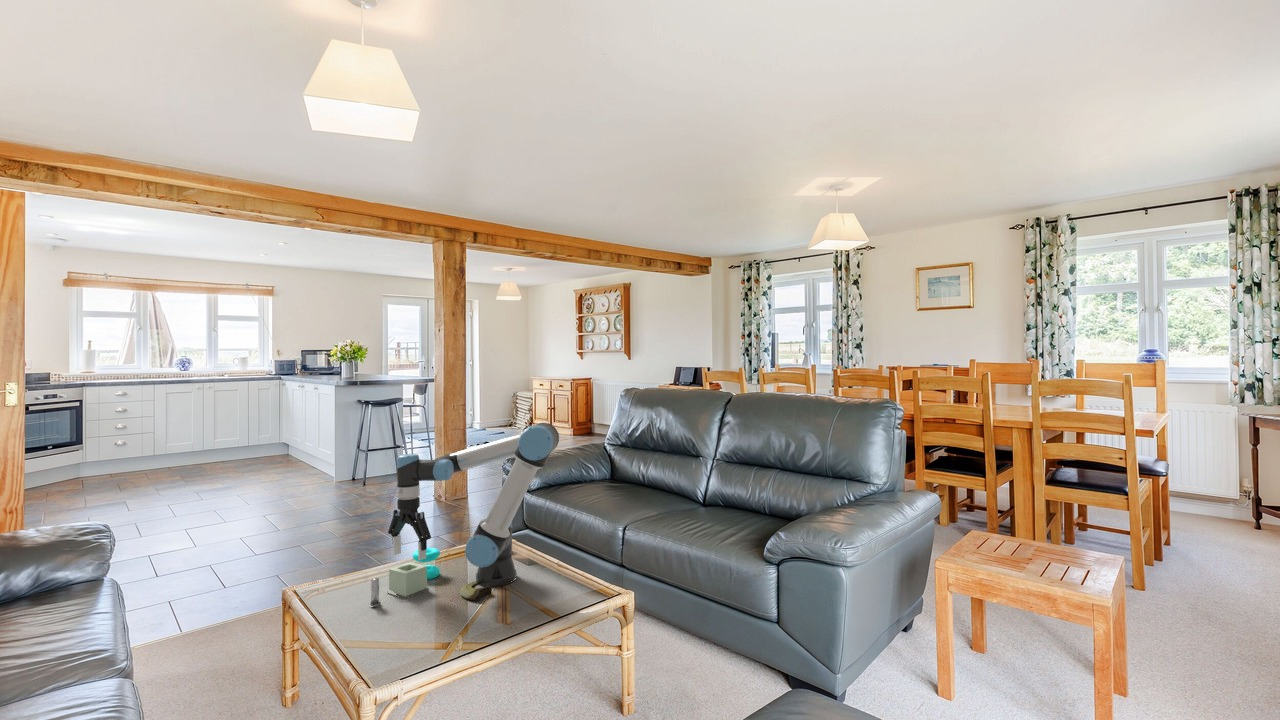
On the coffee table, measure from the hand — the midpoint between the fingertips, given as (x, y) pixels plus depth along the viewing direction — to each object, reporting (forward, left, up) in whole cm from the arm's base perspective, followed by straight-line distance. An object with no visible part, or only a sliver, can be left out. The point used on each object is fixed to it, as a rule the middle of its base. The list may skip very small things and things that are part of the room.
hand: (409, 556), depth 211 cm
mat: (0, 0, -13) cm, 13 cm away
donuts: (+7, -14, -13) cm, 20 cm away
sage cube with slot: (0, 0, -12) cm, 12 cm away
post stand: (-1, +14, -13) cm, 19 cm away
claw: (-21, -12, -13) cm, 27 cm away
